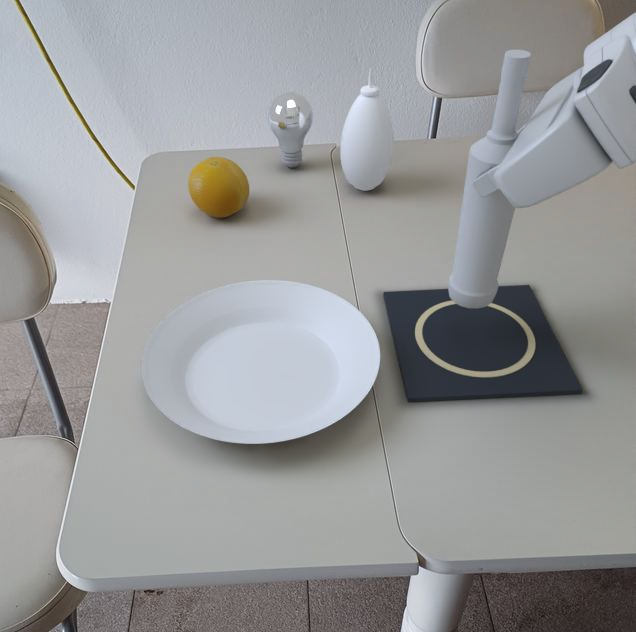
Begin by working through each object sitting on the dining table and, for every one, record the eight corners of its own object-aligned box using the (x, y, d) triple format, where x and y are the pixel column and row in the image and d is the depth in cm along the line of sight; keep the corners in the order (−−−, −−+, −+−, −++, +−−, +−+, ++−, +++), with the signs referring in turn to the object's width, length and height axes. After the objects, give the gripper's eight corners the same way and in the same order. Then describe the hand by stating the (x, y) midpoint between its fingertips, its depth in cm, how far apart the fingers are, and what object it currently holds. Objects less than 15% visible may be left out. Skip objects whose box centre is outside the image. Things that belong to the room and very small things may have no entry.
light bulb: (299, 181, 102) (297, 106, 94) (262, 171, 105) (257, 98, 97) (321, 162, 107) (320, 89, 98) (285, 154, 109) (282, 82, 101)
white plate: (397, 323, 76) (400, 299, 74) (346, 494, 59) (348, 470, 56) (202, 289, 82) (199, 266, 80) (104, 435, 65) (96, 411, 63)
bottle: (443, 305, 69) (482, 62, 52) (449, 277, 72) (488, 41, 55) (493, 313, 68) (550, 66, 51) (497, 284, 71) (551, 45, 54)
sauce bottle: (384, 203, 96) (393, 80, 84) (334, 197, 98) (335, 76, 86) (394, 178, 102) (404, 60, 89) (346, 173, 104) (349, 56, 91)
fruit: (260, 205, 97) (257, 155, 92) (233, 231, 92) (227, 180, 87) (211, 193, 100) (205, 144, 95) (181, 218, 95) (173, 168, 90)
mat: (528, 288, 80) (529, 283, 79) (581, 393, 67) (583, 388, 66) (383, 295, 80) (383, 290, 80) (407, 402, 67) (408, 397, 66)
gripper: (633, 10, 56) (499, 104, 66) (588, 94, 43) (431, 195, 53) (671, 70, 57) (534, 153, 68) (638, 169, 44) (476, 253, 55)
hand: (488, 172), depth 60 cm, fingers closed on bottle, 5 cm apart
